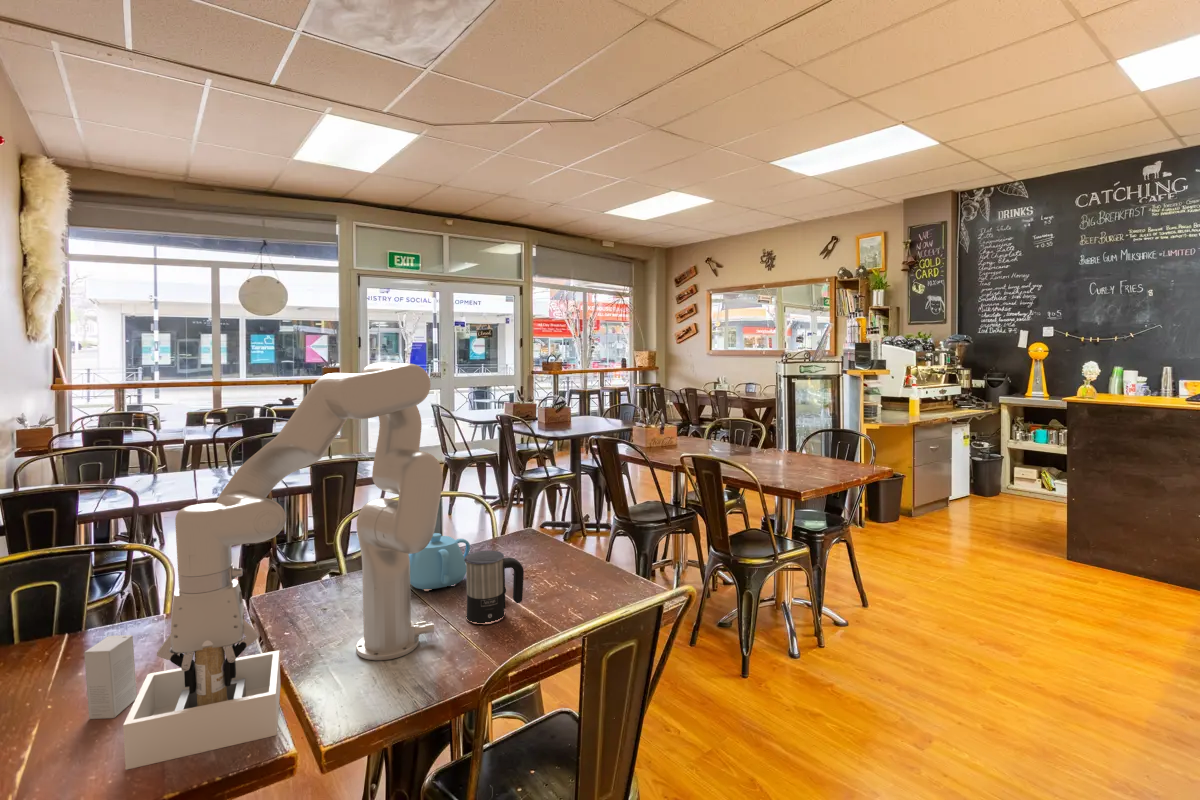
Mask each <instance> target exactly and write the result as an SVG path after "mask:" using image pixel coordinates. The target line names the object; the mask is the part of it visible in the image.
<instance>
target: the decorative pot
mask: <svg viewBox="0 0 1200 800" xmlns="http://www.w3.org/2000/svg"><path fill="white" fill-rule="evenodd" d="M460 543H462V544H465V549H464V554H463V551H462V549H461V548H460V545H459V544H460ZM470 552H471V545H470V542H469V541H468V540H467V539H464V538H457V539H454V538H453V537H452V536H448V535H442V534H441V533H440V532H439V533H438V532H434V534H433V536H432V539H431V541H430V542H429V544H428V545H427V546H426V547H425V548H424V549H423V550H422V551H420V552H418V553H414V554H409V558H410V586H412V587H414V588H415V589H419V590H423V589H434V590H435V589H441V588H446V587H447V586H451V585H454V584H456V585H457V584H459V583H461V582H462V580H463V579H464V578H465V576H466V562H465V561H464V559H465V557H466V556H467V555H468V554H470Z"/></svg>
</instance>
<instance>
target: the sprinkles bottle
mask: <svg viewBox="0 0 1200 800" xmlns="http://www.w3.org/2000/svg"><path fill="white" fill-rule="evenodd" d="M211 645H213V643H212V642H211V641H208V640H207V641H205V642H204V643H203V644H202V646H203V647H205V646H209V647H205V648H203V650H200V651H196V652H194V662H195V680H196V693H197V707H198V706H203V705H208V704H213V703H218V702H223V701H228V698H227V688H226V686H225V672H224V664H225V660H226V654H225V651H224V648H223V647H219V648H212V647H213V646H211Z"/></svg>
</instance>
